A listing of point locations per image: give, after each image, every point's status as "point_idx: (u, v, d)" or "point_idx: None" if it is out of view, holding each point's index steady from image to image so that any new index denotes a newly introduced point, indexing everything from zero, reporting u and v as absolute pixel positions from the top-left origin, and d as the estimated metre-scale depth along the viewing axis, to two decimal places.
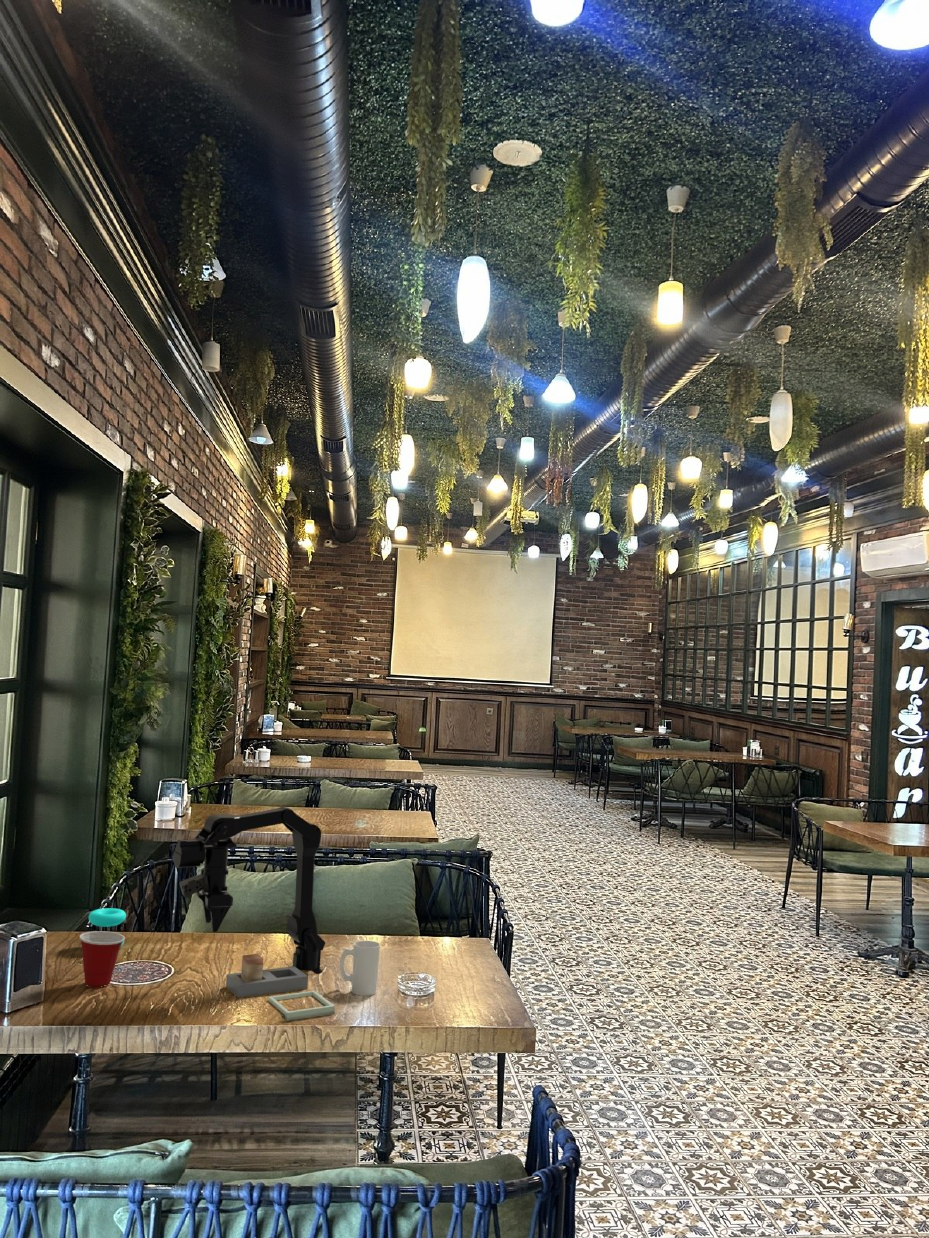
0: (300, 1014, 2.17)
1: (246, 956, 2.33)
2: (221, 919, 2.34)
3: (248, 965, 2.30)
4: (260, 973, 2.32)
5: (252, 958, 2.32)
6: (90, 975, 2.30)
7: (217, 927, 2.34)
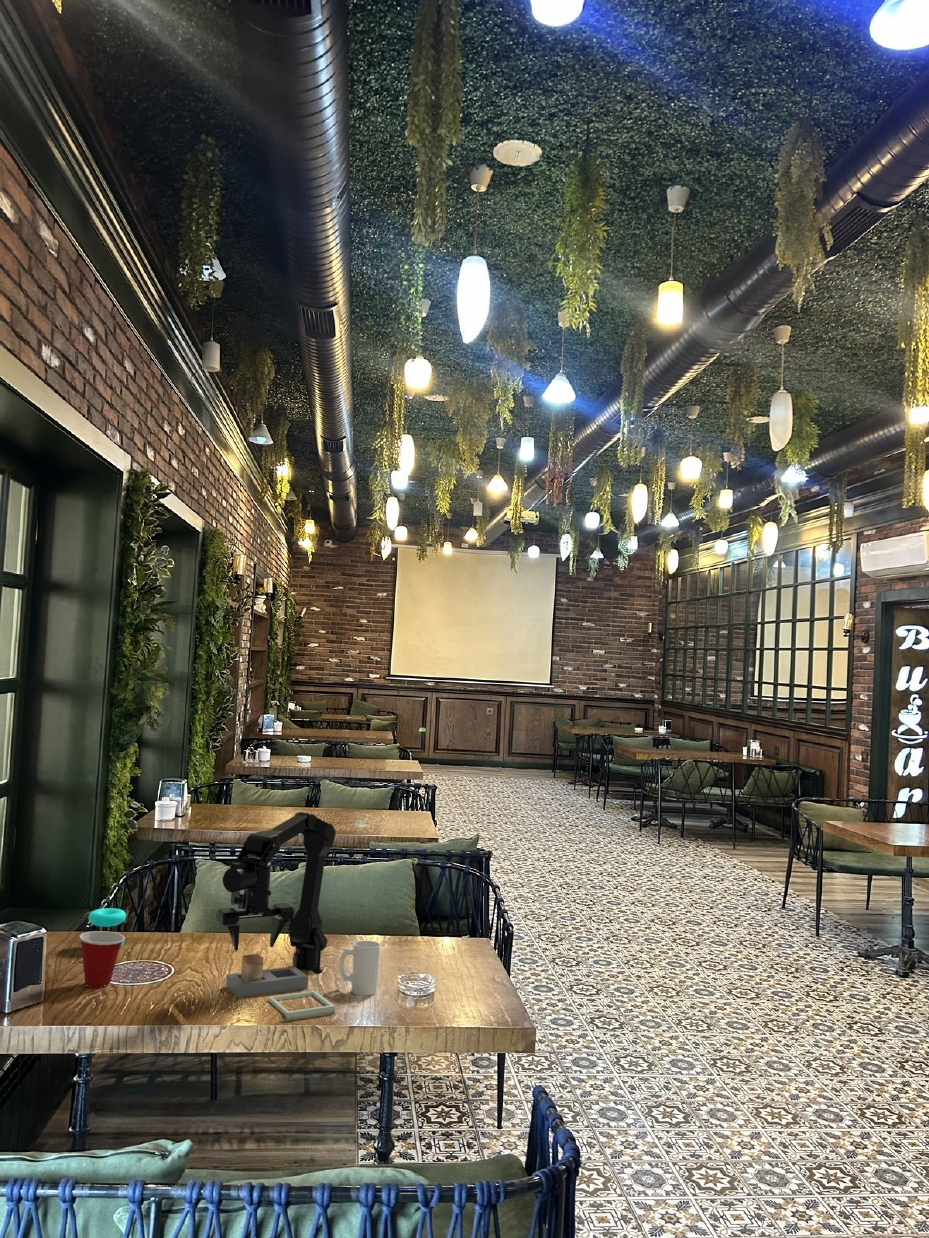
0: (300, 1014, 2.17)
1: (246, 956, 2.33)
2: (233, 939, 2.29)
3: (248, 965, 2.30)
4: (260, 973, 2.32)
5: (252, 958, 2.32)
6: (90, 975, 2.30)
7: (234, 946, 2.30)
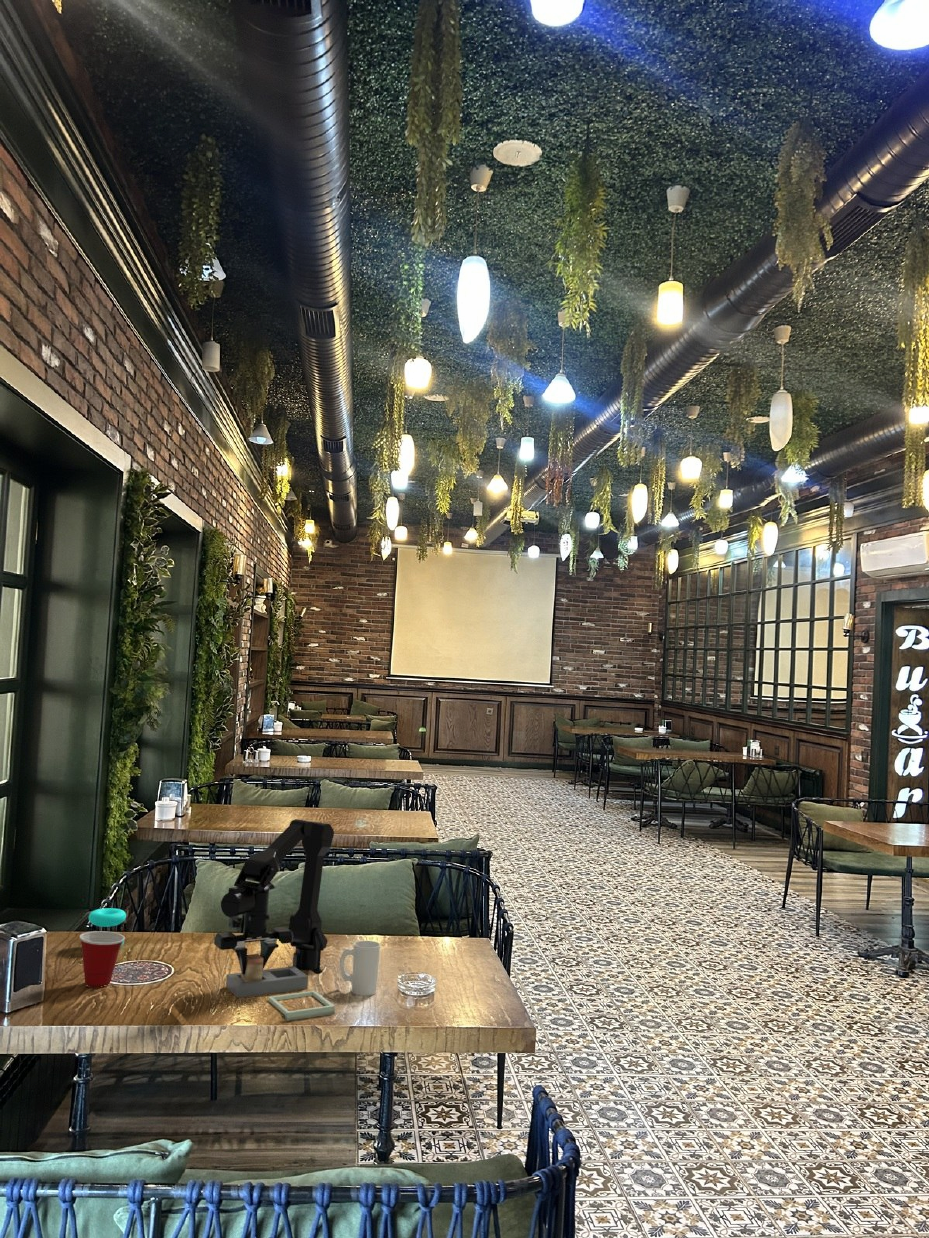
0: (300, 1014, 2.17)
1: None
2: (241, 962, 2.30)
3: (248, 965, 2.30)
4: (260, 973, 2.32)
5: (252, 958, 2.32)
6: (90, 975, 2.30)
7: (242, 970, 2.31)
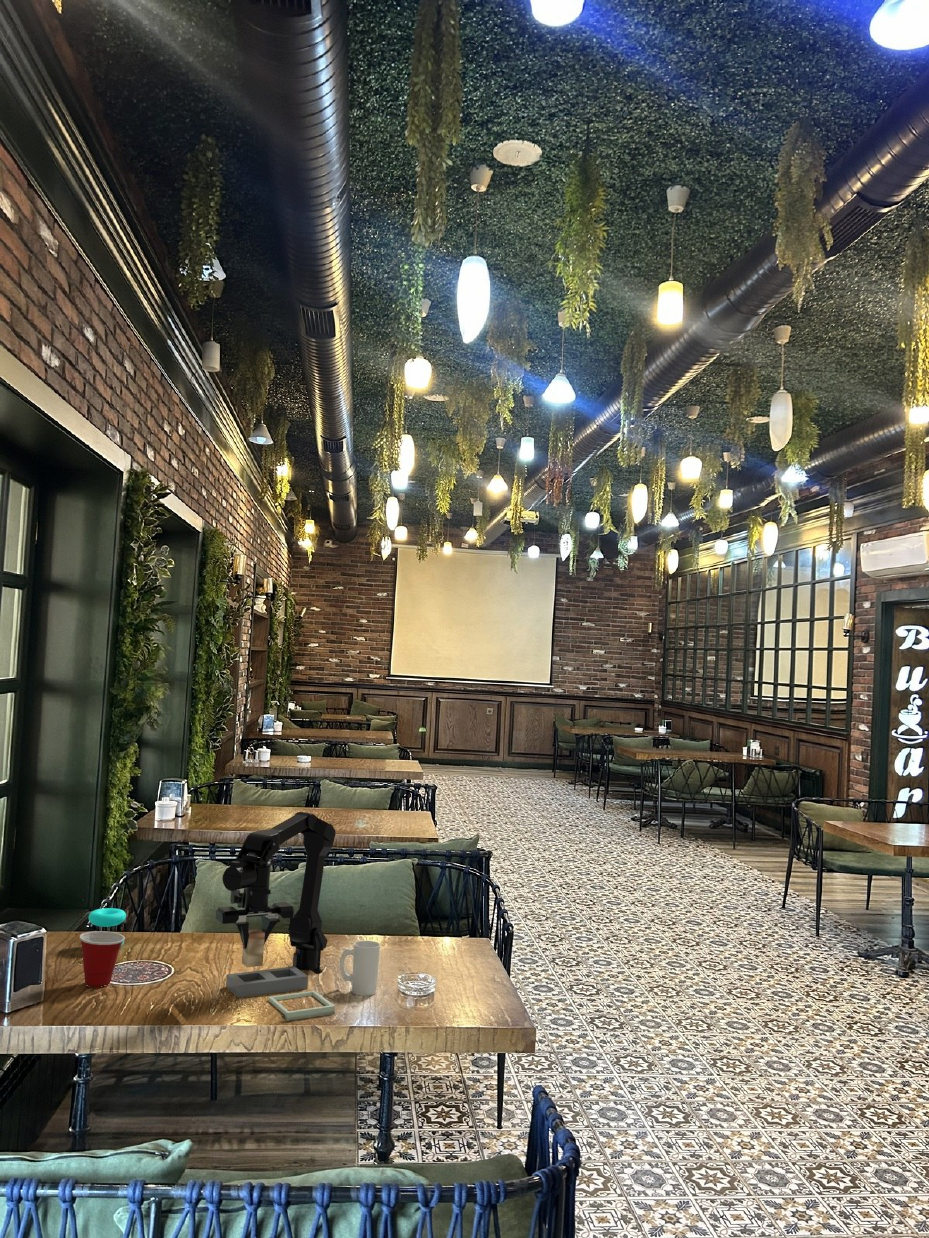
0: (300, 1014, 2.17)
1: None
2: (243, 936, 2.31)
3: (250, 939, 2.31)
4: (261, 948, 2.32)
5: (253, 933, 2.32)
6: (90, 975, 2.30)
7: (243, 944, 2.31)
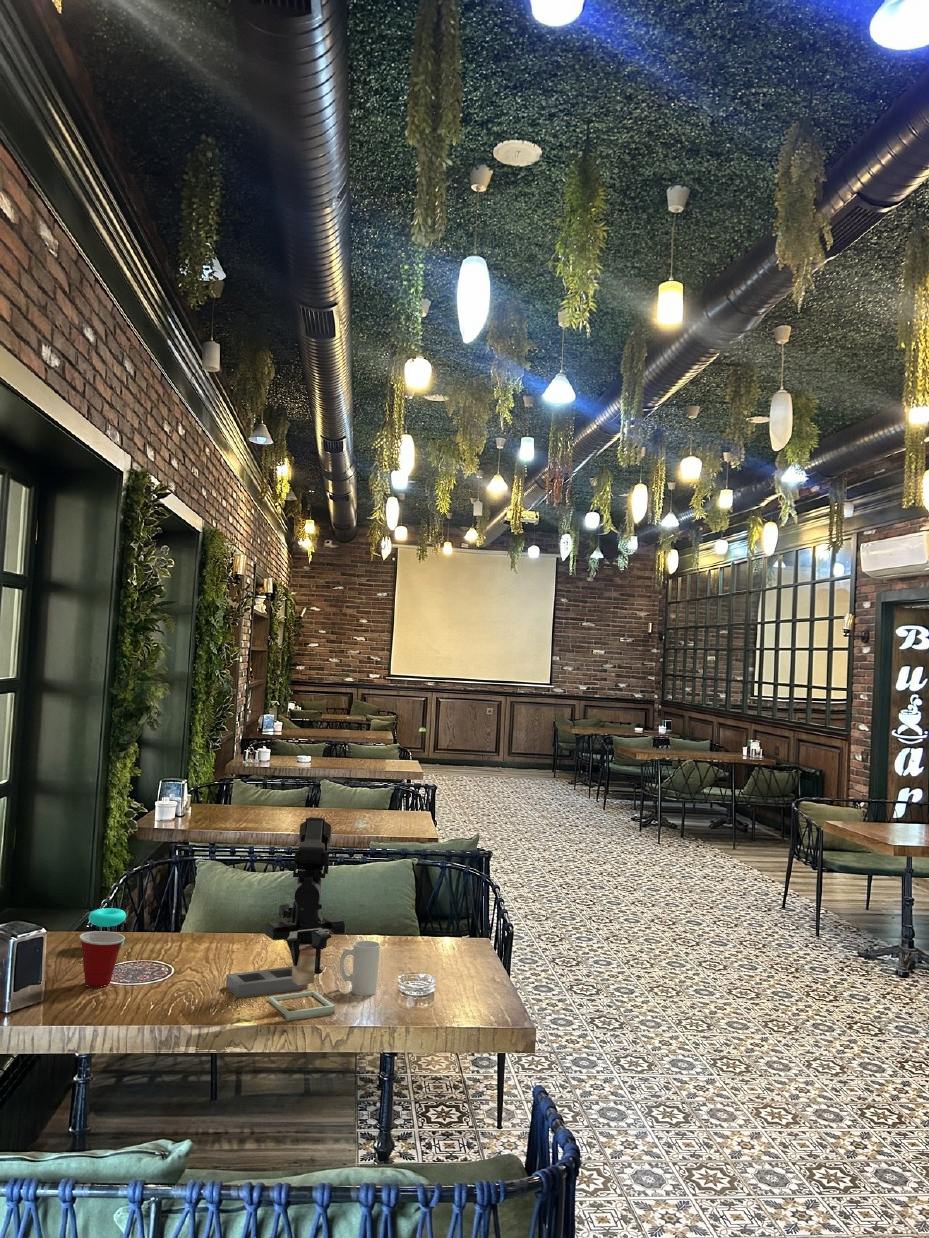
0: (300, 1014, 2.17)
1: None
2: (293, 953, 2.22)
3: (300, 956, 2.22)
4: (313, 964, 2.23)
5: (304, 949, 2.23)
6: (90, 975, 2.30)
7: (294, 961, 2.23)
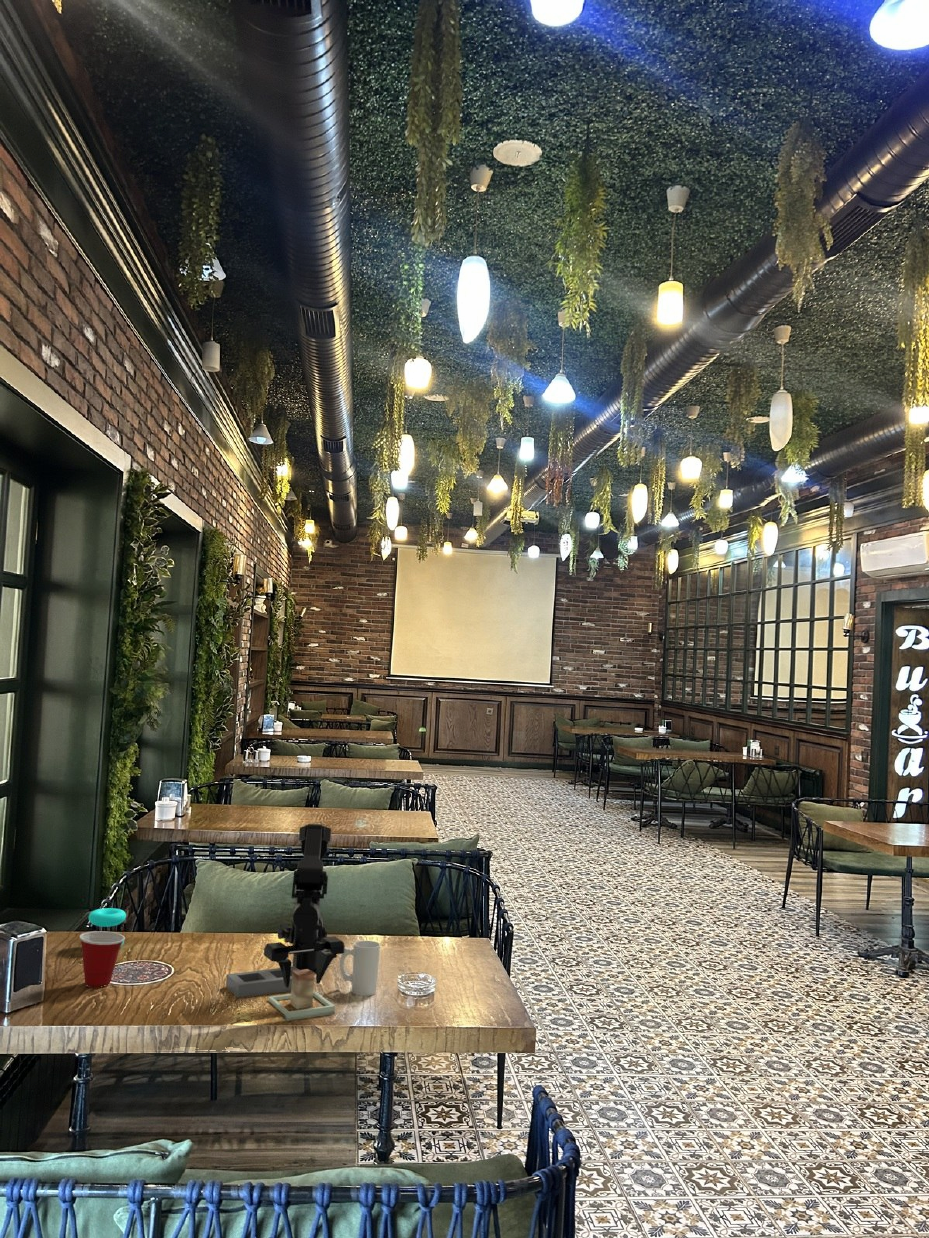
0: (300, 1014, 2.17)
1: (296, 972, 2.24)
2: (285, 975, 2.20)
3: (299, 981, 2.22)
4: (311, 989, 2.23)
5: (303, 974, 2.23)
6: (90, 975, 2.30)
7: (285, 983, 2.21)
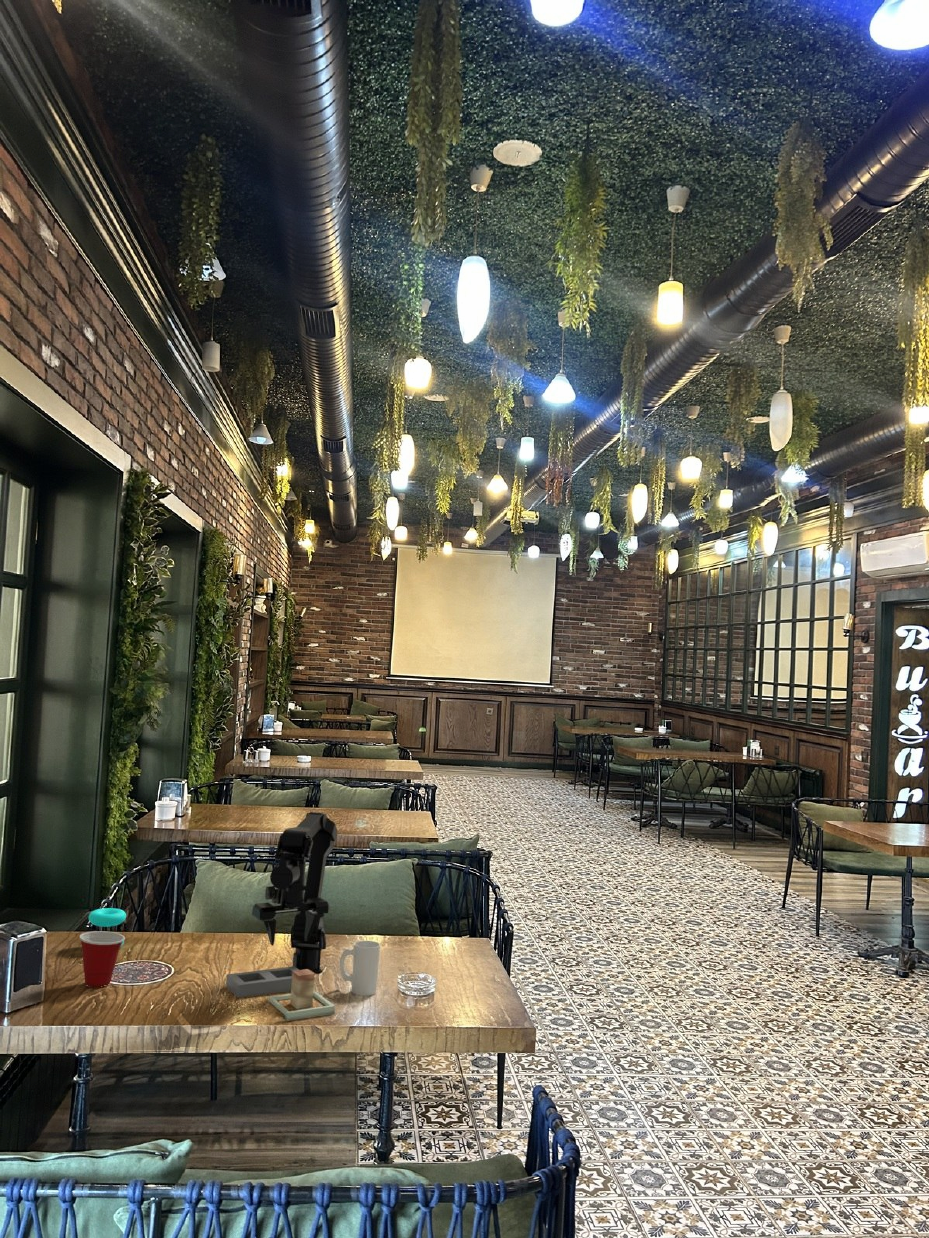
0: (300, 1014, 2.17)
1: (296, 972, 2.24)
2: (270, 933, 2.32)
3: (299, 981, 2.22)
4: (311, 989, 2.23)
5: (303, 974, 2.23)
6: (90, 975, 2.30)
7: (271, 941, 2.32)
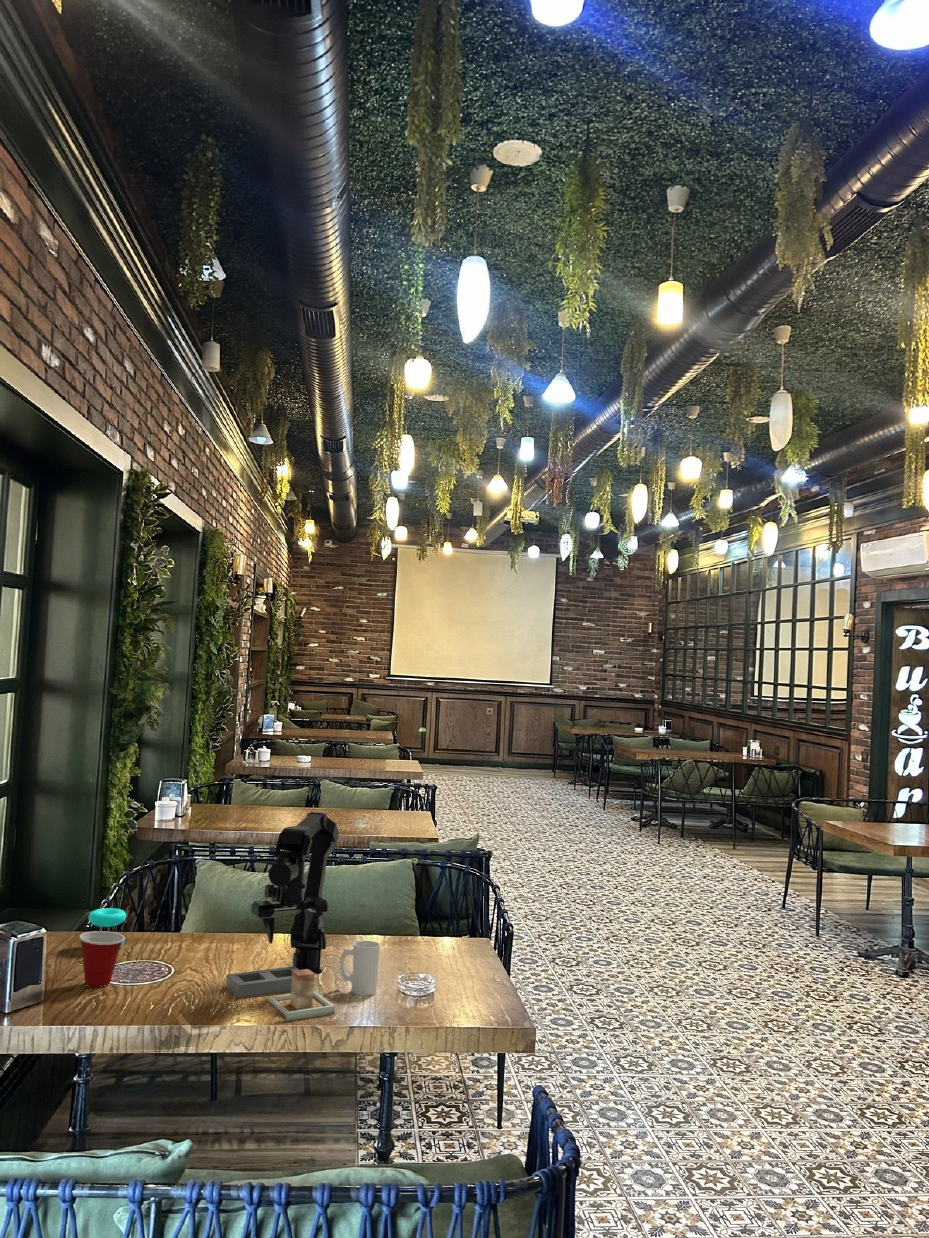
0: (300, 1014, 2.17)
1: (296, 972, 2.24)
2: (268, 931, 2.32)
3: (299, 981, 2.22)
4: (311, 989, 2.23)
5: (303, 974, 2.23)
6: (90, 975, 2.30)
7: (269, 939, 2.33)
